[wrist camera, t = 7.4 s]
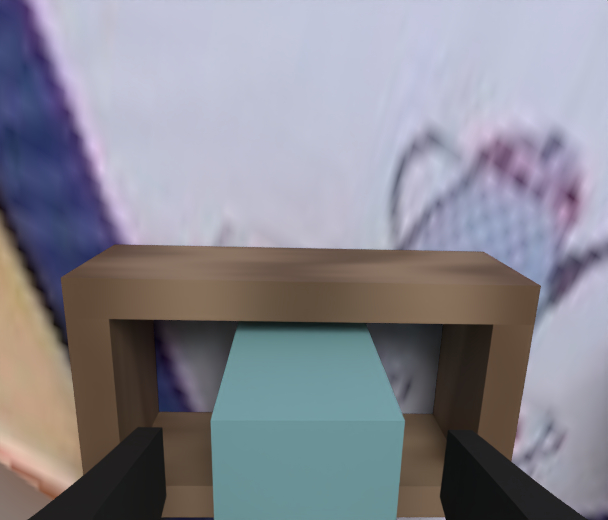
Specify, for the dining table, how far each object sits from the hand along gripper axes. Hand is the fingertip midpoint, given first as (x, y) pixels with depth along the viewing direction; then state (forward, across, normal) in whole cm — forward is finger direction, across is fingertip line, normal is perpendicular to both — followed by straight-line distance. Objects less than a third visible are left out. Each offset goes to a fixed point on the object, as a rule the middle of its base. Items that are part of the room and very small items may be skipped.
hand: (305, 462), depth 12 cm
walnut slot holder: (+6, 0, 0) cm, 6 cm away
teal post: (+6, 0, 0) cm, 6 cm away
